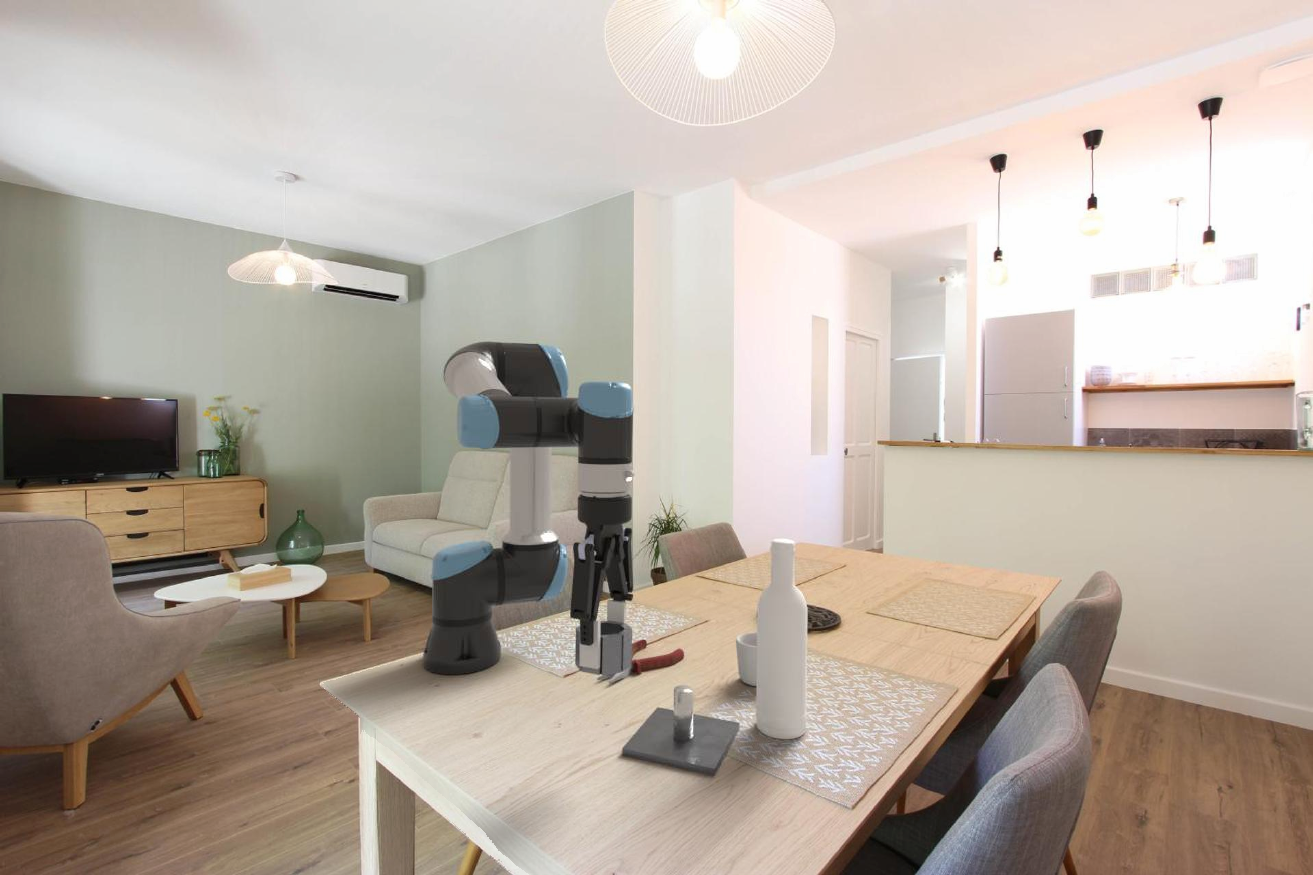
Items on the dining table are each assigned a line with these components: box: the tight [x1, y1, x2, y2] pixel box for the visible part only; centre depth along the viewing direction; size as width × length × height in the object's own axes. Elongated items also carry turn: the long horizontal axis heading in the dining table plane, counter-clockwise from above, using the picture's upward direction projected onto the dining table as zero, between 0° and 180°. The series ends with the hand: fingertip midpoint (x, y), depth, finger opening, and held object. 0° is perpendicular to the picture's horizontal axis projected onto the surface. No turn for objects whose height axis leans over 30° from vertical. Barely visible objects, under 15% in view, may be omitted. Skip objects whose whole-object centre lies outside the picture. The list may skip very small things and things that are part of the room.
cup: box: [735, 631, 757, 687], centre depth 115 cm, size 11×8×8 cm
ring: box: [574, 619, 633, 676], centre depth 86 cm, size 7×7×5 cm
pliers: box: [596, 639, 685, 684], centre depth 122 cm, size 12×20×3 cm, turn 146°
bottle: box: [755, 538, 808, 740], centre depth 98 cm, size 8×8×30 cm
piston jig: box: [621, 684, 741, 777], centre depth 94 cm, size 14×14×8 cm
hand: (603, 655), depth 86 cm, fingers closed on ring, 7 cm apart
